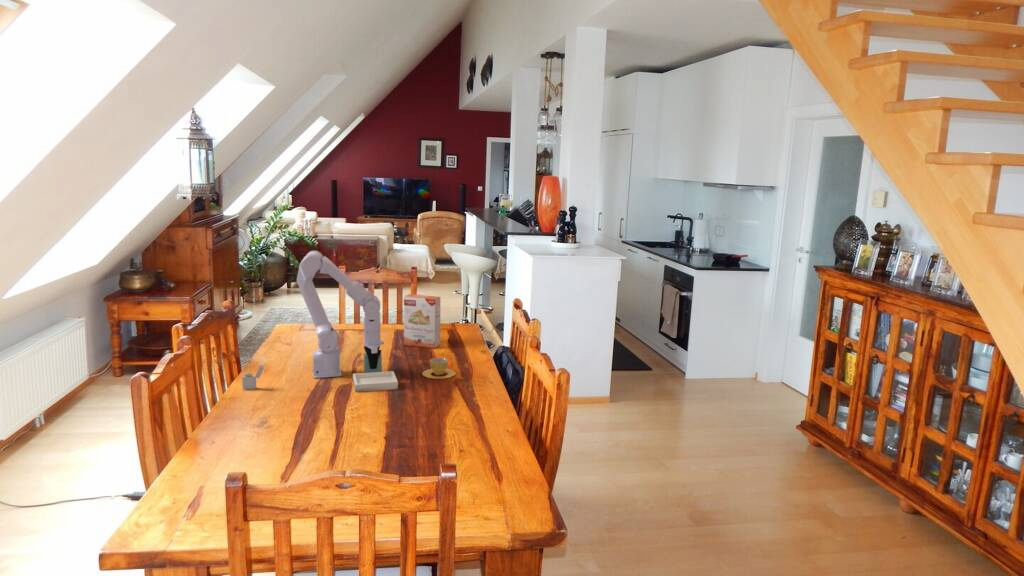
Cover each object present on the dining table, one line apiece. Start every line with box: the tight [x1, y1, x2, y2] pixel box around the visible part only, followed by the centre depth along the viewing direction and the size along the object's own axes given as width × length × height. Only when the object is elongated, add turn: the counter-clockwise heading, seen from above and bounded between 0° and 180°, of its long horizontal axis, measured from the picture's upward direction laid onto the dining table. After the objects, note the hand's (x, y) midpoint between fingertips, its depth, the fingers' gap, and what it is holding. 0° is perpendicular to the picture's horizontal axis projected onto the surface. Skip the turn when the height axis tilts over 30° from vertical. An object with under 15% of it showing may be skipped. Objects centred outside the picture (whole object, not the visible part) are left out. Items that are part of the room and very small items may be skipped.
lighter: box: [241, 364, 266, 390], centre depth 231 cm, size 7×2×8 cm, turn 99°
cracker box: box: [403, 293, 441, 350], centre depth 285 cm, size 14×6×21 cm, turn 73°
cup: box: [421, 357, 457, 380], centre depth 251 cm, size 12×12×5 cm
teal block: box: [363, 353, 383, 373], centre depth 250 cm, size 6×3×7 cm, turn 107°
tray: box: [352, 370, 399, 393], centre depth 238 cm, size 14×12×2 cm
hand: (372, 367), depth 250 cm, fingers closed on teal block, 3 cm apart
